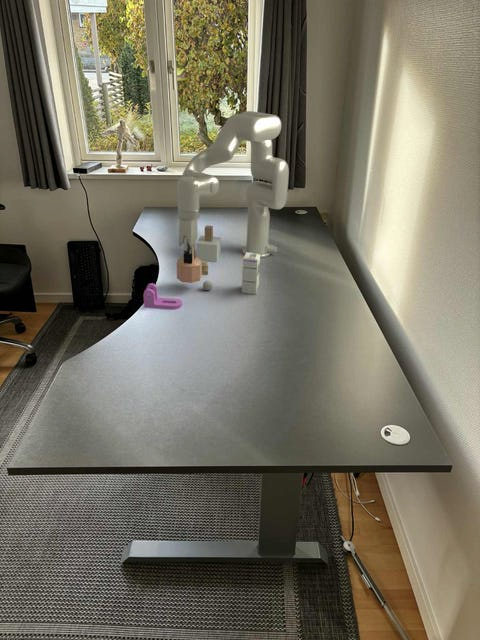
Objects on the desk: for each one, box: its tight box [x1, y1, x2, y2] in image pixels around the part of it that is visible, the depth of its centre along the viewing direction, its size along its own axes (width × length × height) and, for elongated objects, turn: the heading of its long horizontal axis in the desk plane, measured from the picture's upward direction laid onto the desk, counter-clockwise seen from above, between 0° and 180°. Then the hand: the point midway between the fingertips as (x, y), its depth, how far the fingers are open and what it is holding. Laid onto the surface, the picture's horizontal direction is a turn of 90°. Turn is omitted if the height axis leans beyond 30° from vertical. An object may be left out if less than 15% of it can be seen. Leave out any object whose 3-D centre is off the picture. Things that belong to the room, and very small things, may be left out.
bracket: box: [143, 282, 183, 310], centre depth 174 cm, size 13×6×7 cm, turn 86°
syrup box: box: [241, 252, 261, 295], centre depth 184 cm, size 6×6×14 cm
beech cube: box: [201, 261, 209, 276], centre depth 198 cm, size 4×4×4 cm
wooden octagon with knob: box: [176, 245, 203, 284], centre depth 182 cm, size 9×9×13 cm
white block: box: [195, 224, 222, 263], centre depth 209 cm, size 9×9×14 cm
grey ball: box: [202, 280, 213, 291], centre depth 186 cm, size 4×4×4 cm
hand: (189, 260), depth 181 cm, fingers closed on wooden octagon with knob, 3 cm apart
